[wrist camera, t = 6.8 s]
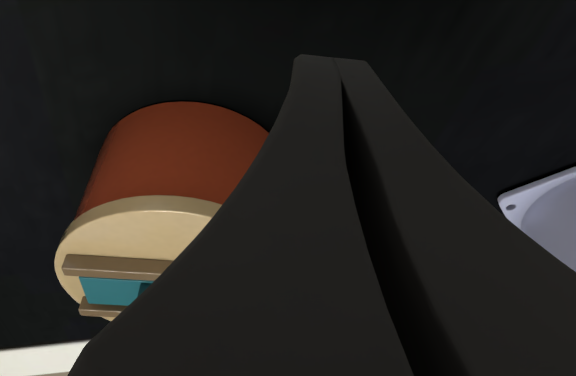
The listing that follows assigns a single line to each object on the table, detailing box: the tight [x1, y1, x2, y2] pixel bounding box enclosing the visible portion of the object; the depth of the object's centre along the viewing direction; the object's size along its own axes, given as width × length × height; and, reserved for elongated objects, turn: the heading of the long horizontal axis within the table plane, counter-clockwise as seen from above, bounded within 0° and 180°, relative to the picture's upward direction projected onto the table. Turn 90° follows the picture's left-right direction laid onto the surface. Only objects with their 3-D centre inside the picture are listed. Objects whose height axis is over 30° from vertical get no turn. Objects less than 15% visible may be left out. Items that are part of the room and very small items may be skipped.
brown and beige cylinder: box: [54, 101, 269, 321], centre depth 23 cm, size 10×10×8 cm
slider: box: [79, 276, 154, 306], centre depth 20 cm, size 3×2×2 cm
